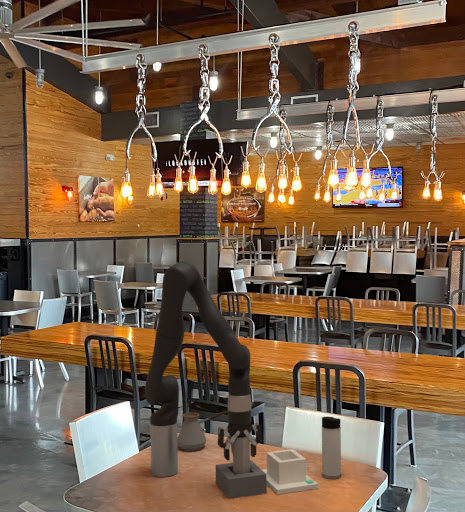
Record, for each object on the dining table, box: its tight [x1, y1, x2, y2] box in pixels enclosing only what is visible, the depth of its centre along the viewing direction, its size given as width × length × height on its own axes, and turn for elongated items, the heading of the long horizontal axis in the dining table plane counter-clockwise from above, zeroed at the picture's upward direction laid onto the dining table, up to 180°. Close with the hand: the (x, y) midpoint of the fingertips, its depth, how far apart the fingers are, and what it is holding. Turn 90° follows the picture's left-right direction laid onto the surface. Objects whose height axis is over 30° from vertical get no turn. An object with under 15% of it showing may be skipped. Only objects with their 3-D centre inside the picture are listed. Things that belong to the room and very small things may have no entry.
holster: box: [215, 459, 268, 500], centre depth 198 cm, size 14×12×6 cm
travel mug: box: [321, 416, 342, 480], centre depth 207 cm, size 6×7×20 cm
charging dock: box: [261, 448, 319, 496], centre depth 203 cm, size 18×14×8 cm
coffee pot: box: [177, 409, 228, 452], centre depth 237 cm, size 21×12×15 cm, turn 83°
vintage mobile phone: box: [230, 437, 251, 475], centre depth 197 cm, size 4×5×25 cm
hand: (240, 458), depth 197 cm, fingers open, 8 cm apart
